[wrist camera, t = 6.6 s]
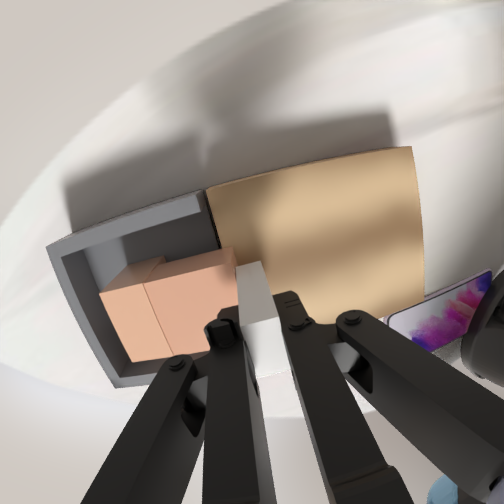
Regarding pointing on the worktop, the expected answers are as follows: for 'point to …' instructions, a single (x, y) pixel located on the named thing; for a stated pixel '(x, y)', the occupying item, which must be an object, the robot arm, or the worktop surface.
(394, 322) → the smartphone
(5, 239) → the worktop surface
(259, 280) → the robot arm
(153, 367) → the tray
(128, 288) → the tile
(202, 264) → the tile
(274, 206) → the board
